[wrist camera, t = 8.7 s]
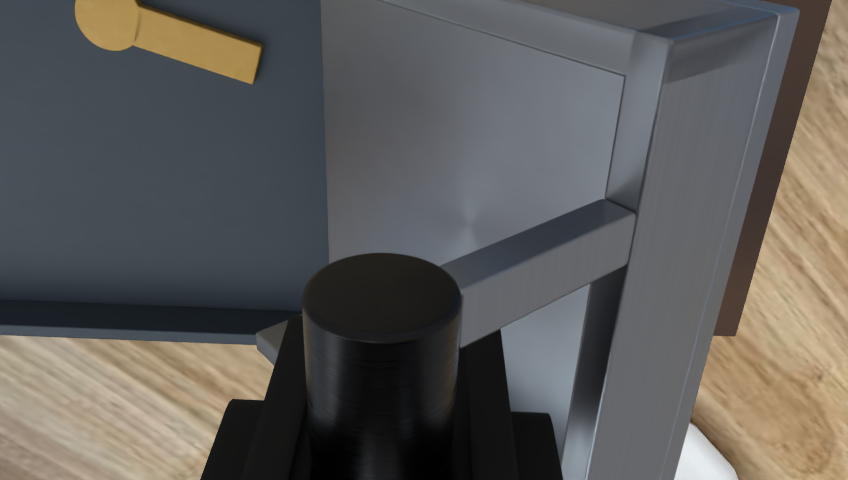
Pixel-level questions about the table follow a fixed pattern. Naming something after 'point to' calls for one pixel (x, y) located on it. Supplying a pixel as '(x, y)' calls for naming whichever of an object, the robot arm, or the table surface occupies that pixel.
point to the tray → (159, 178)
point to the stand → (773, 157)
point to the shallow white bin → (529, 219)
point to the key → (168, 36)
